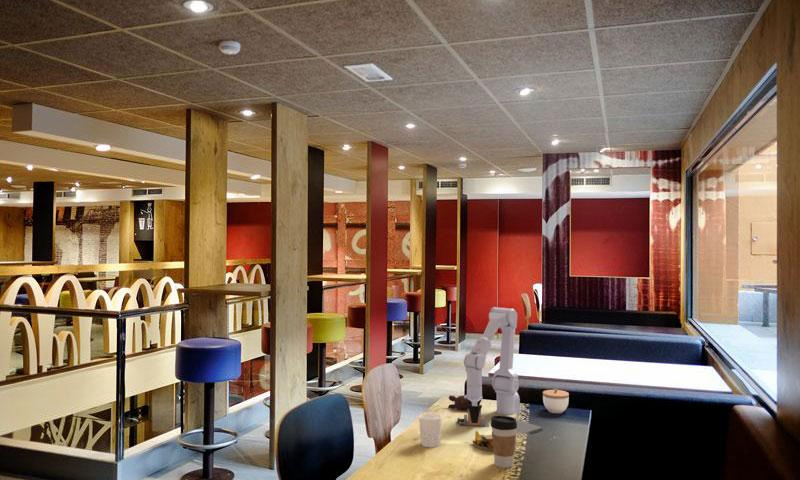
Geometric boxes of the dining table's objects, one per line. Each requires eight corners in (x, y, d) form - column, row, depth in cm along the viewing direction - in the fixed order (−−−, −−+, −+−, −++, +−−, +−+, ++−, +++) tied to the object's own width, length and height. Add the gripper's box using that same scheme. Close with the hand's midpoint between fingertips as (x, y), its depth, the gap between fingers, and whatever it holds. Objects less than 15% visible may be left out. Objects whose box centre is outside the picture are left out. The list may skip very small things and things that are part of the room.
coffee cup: (488, 460, 197) (487, 414, 197) (513, 459, 198) (513, 413, 198) (494, 470, 189) (494, 422, 189) (520, 469, 189) (520, 421, 189)
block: (468, 424, 231) (467, 409, 231) (468, 421, 235) (468, 406, 235) (481, 425, 231) (481, 409, 231) (480, 422, 235) (480, 406, 235)
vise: (457, 428, 230) (457, 419, 230) (457, 422, 237) (457, 413, 237) (489, 429, 229) (489, 420, 229) (488, 423, 236) (488, 414, 236)
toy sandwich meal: (504, 439, 218) (504, 426, 218) (513, 452, 205) (513, 438, 205) (469, 440, 218) (469, 426, 218) (476, 453, 204) (476, 439, 204)
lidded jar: (542, 414, 249) (542, 391, 249) (542, 407, 259) (542, 385, 259) (569, 415, 246) (569, 392, 246) (568, 408, 257) (568, 386, 257)
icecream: (484, 396, 252) (453, 394, 261) (475, 395, 247) (444, 393, 256) (483, 413, 251) (452, 411, 259) (474, 413, 245) (443, 410, 254)
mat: (519, 423, 236) (519, 420, 236) (542, 430, 228) (542, 427, 228) (500, 428, 230) (500, 426, 230) (523, 436, 221) (523, 433, 221)
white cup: (444, 442, 215) (444, 414, 215) (438, 449, 207) (438, 420, 207) (422, 439, 217) (422, 412, 217) (416, 446, 210) (416, 418, 210)
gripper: (464, 380, 241) (464, 414, 241) (463, 388, 226) (463, 425, 226) (482, 380, 240) (482, 414, 240) (482, 389, 225) (482, 425, 225)
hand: (474, 419), depth 233 cm, fingers open, 7 cm apart
